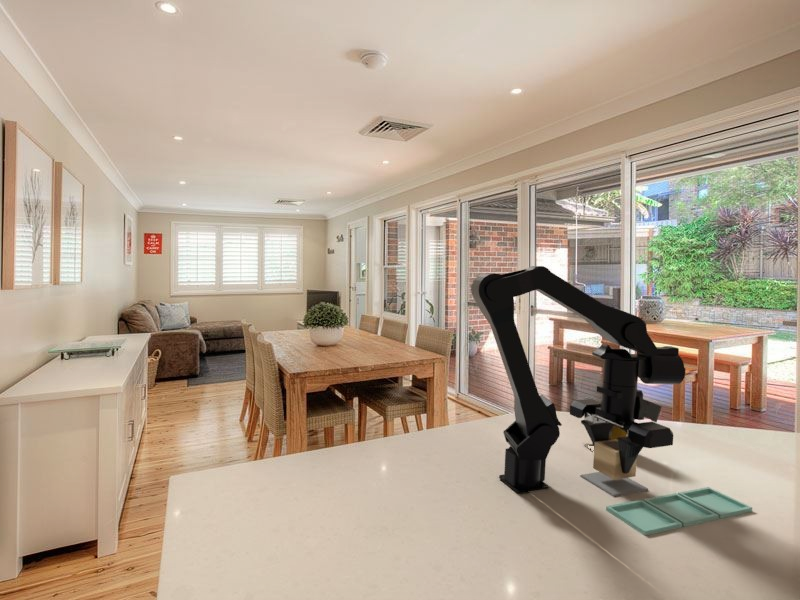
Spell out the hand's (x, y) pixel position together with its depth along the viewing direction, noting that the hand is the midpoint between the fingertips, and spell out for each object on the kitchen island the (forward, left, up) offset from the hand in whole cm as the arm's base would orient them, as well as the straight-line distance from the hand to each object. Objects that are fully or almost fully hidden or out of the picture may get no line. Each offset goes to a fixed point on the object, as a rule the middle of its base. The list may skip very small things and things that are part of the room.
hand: (613, 466), depth 85 cm
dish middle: (+3, -11, -3) cm, 12 cm away
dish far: (+11, -11, -3) cm, 16 cm away
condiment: (+12, +13, -4) cm, 18 cm away
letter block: (0, 0, -1) cm, 1 cm away
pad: (0, 0, -3) cm, 3 cm away
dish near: (-5, -11, -3) cm, 12 cm away
